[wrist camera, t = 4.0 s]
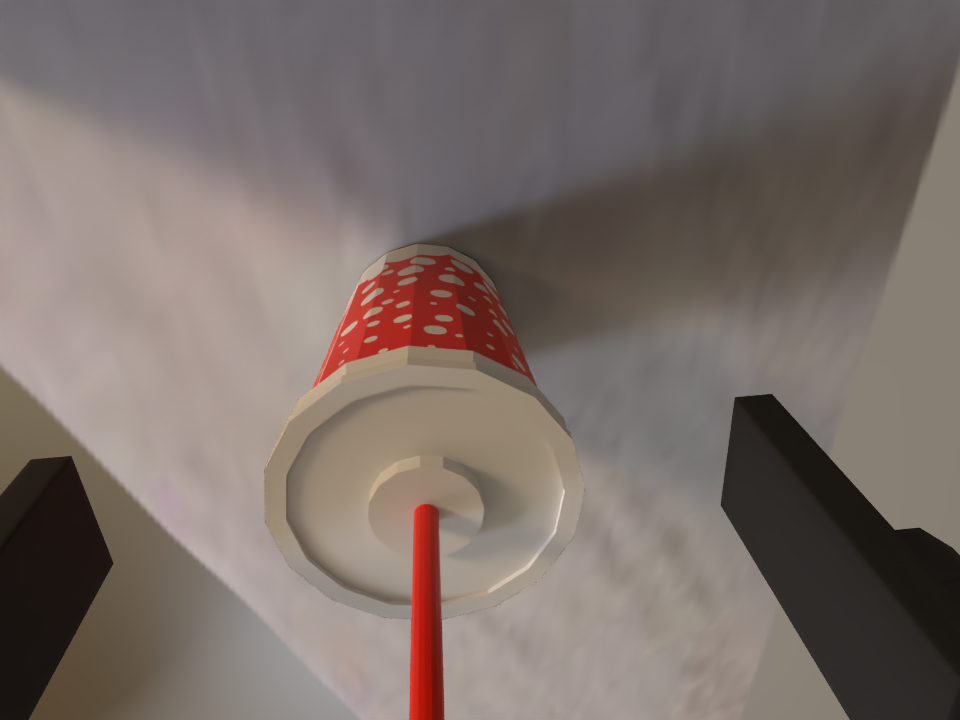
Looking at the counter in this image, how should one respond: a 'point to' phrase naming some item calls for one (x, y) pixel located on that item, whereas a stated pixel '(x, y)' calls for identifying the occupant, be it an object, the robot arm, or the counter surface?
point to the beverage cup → (423, 459)
